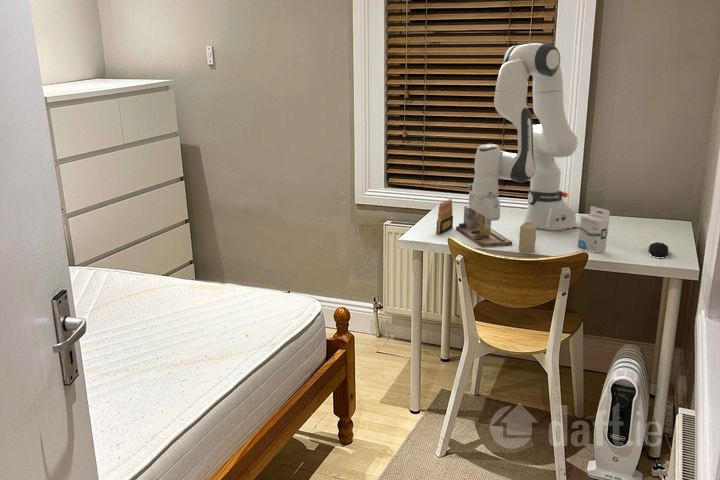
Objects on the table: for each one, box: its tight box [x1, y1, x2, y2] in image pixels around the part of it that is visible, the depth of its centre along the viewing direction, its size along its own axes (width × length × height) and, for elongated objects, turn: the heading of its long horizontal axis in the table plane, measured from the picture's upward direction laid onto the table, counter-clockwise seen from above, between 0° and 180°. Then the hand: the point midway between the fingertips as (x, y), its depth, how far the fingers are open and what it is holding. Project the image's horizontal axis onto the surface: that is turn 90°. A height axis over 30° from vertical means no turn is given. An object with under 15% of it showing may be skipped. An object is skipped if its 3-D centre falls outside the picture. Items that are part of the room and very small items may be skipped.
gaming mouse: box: [648, 241, 669, 258], centre depth 237 cm, size 6×15×4 cm, turn 157°
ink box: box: [577, 205, 610, 254], centre depth 240 cm, size 9×5×15 cm, turn 33°
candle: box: [518, 222, 538, 253], centre depth 239 cm, size 6×6×10 cm
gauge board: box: [455, 205, 513, 248], centre depth 255 cm, size 12×24×9 cm, turn 14°
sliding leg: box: [471, 212, 492, 236], centre depth 252 cm, size 6×4×8 cm, turn 104°
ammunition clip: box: [435, 198, 454, 235], centre depth 262 cm, size 11×2×12 cm, turn 147°
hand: (483, 226), depth 253 cm, fingers closed on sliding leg, 4 cm apart
